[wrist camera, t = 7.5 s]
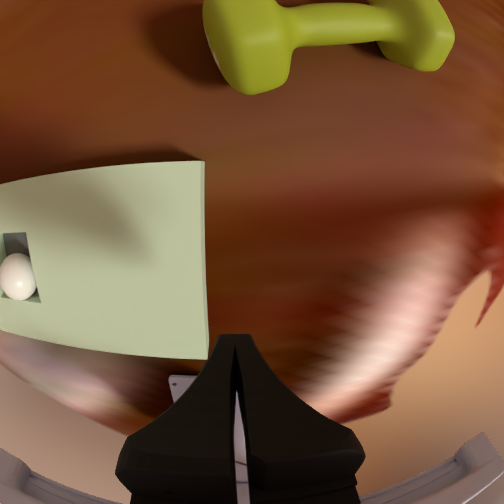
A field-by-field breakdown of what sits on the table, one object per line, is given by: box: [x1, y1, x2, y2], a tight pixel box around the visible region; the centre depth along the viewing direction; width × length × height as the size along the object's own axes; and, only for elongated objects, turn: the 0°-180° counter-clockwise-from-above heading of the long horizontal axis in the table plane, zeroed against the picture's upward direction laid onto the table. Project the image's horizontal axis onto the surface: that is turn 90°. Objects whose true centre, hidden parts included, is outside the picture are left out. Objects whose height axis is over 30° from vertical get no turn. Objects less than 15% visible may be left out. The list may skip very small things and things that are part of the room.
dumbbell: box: [202, 0, 455, 95], centre depth 12 cm, size 16×8×7 cm, turn 108°
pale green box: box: [0, 161, 209, 359], centre depth 14 cm, size 14×24×10 cm, turn 88°
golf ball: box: [0, 253, 37, 300], centre depth 16 cm, size 4×4×4 cm
